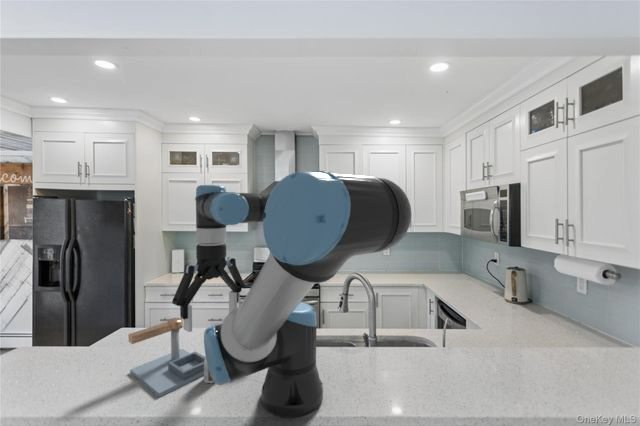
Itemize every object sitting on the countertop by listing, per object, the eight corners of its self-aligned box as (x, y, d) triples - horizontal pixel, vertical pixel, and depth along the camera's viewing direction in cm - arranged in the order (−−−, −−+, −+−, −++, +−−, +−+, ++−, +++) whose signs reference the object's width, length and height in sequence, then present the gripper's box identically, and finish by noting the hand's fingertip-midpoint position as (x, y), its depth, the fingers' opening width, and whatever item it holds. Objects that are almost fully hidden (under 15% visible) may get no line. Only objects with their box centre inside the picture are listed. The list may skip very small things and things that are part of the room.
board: (213, 370, 86) (213, 335, 86) (159, 397, 74) (158, 357, 74) (182, 351, 96) (181, 321, 96) (130, 372, 85) (129, 337, 84)
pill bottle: (211, 385, 79) (210, 356, 79) (200, 380, 81) (200, 352, 81) (224, 377, 83) (224, 349, 82) (213, 372, 85) (213, 345, 85)
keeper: (178, 323, 93) (178, 316, 92) (185, 327, 90) (185, 320, 90) (127, 340, 81) (127, 332, 81) (133, 345, 79) (133, 336, 79)
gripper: (240, 237, 93) (240, 305, 94) (156, 247, 73) (157, 333, 74) (257, 239, 88) (256, 311, 89) (171, 251, 68) (172, 343, 69)
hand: (211, 321), depth 82 cm, fingers open, 13 cm apart
